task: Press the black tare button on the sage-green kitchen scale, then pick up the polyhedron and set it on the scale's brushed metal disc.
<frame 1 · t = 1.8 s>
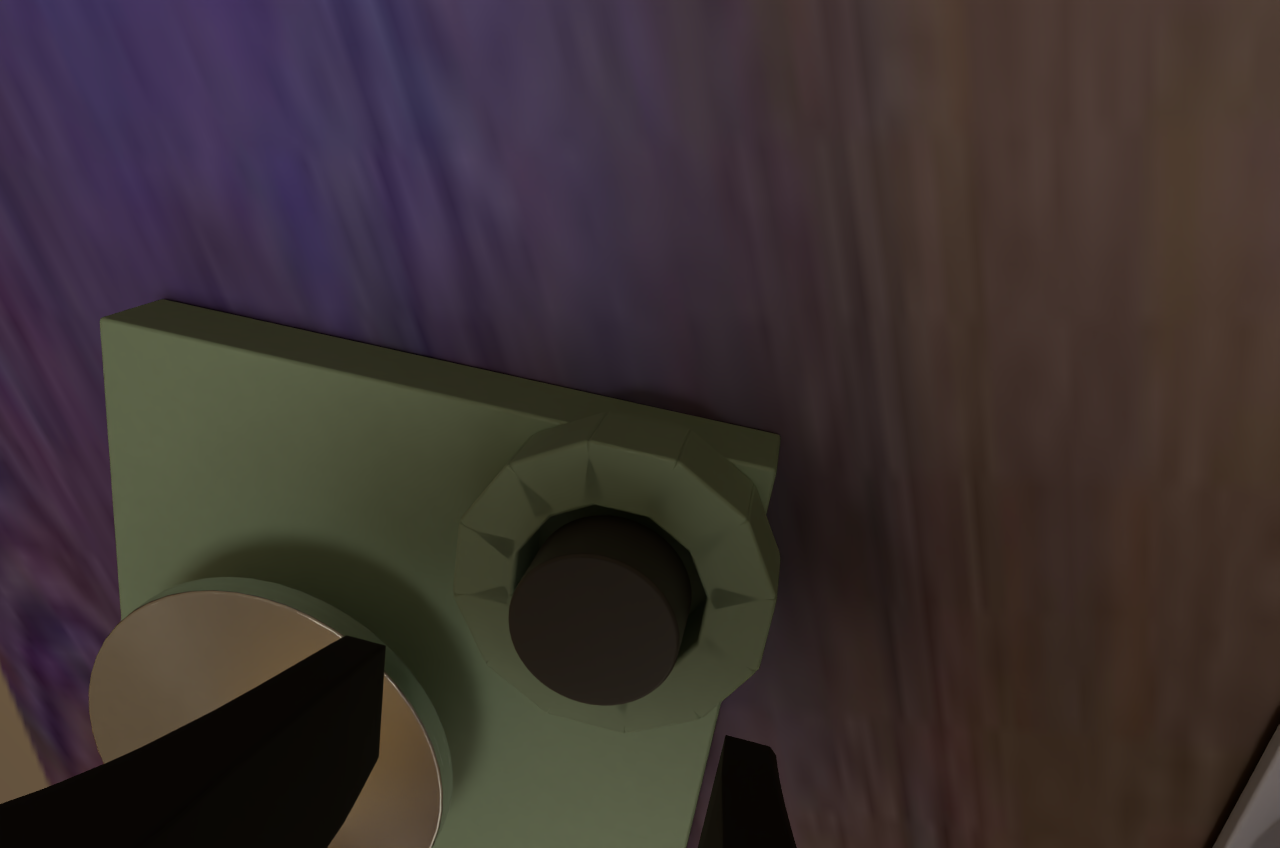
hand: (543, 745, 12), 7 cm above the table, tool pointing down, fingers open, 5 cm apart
brushed metal disc: (276, 741, 19), resting on scale
scale: (437, 598, 21), on the table
tare button: (602, 609, 16), point 4 cm above the table, slide at 0.1 cm
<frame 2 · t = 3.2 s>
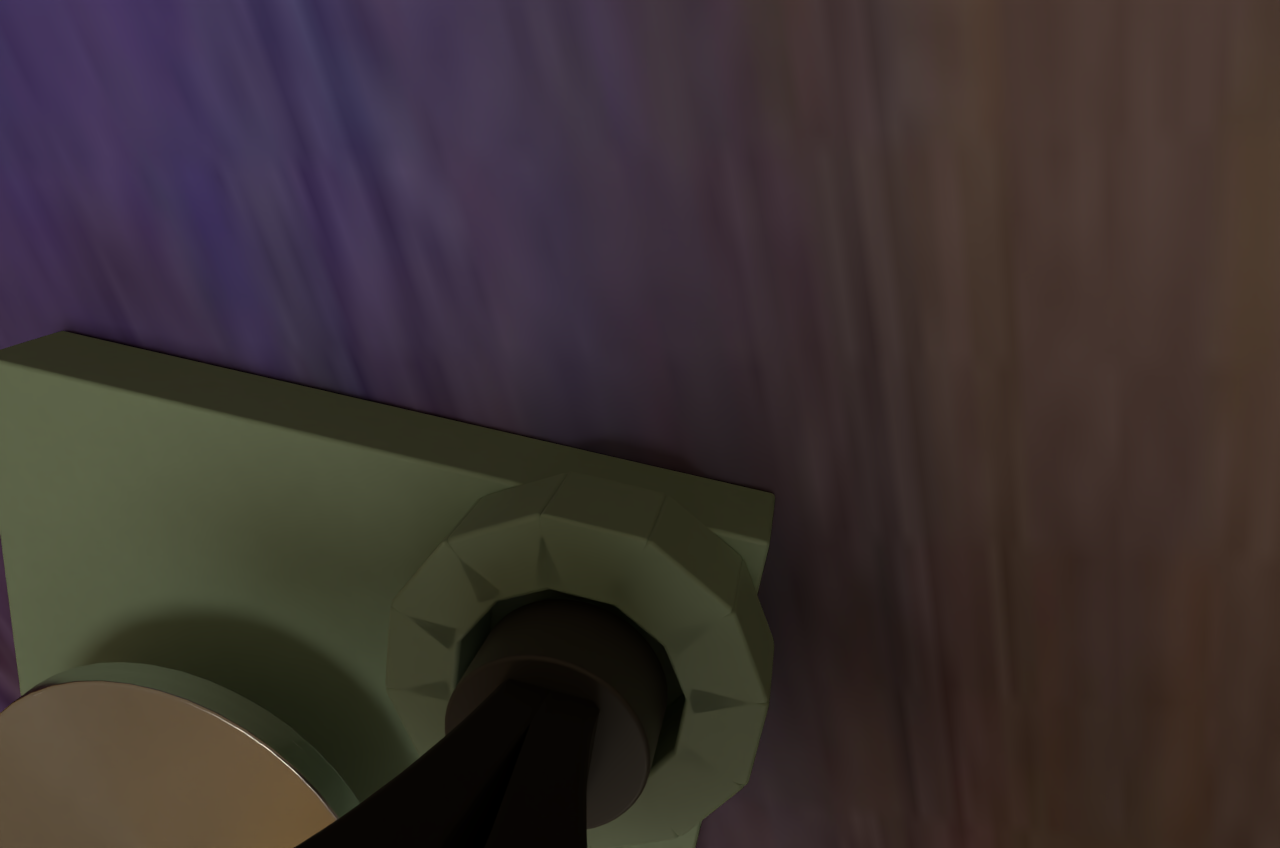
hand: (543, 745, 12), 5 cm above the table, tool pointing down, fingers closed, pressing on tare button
brushed metal disc: (189, 846, 16), resting on scale
scale: (384, 671, 18), on the table
tare button: (559, 713, 13), point 4 cm above the table, slide at 0.1 cm, touching gripper
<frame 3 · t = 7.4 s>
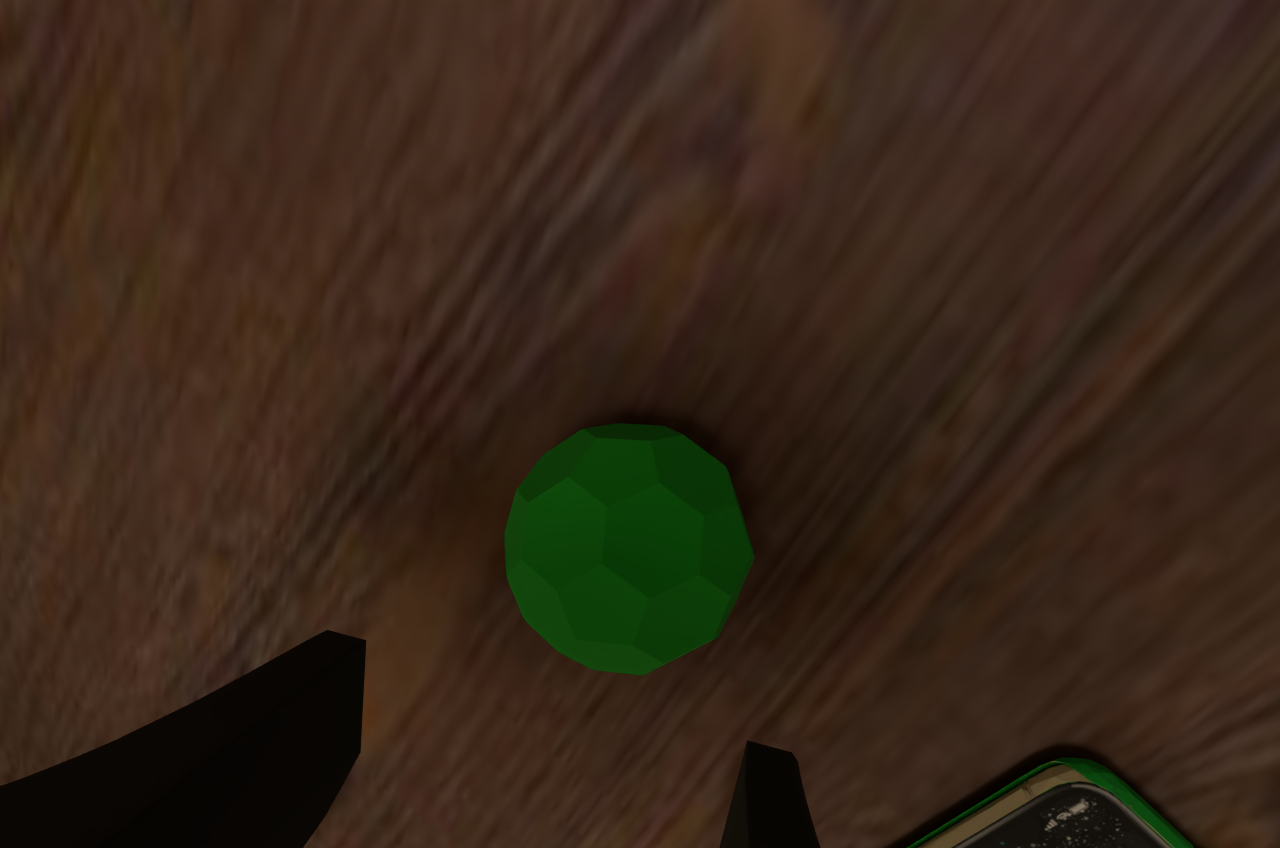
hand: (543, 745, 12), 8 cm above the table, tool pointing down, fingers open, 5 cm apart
polyhedron: (652, 492, 20), on the table
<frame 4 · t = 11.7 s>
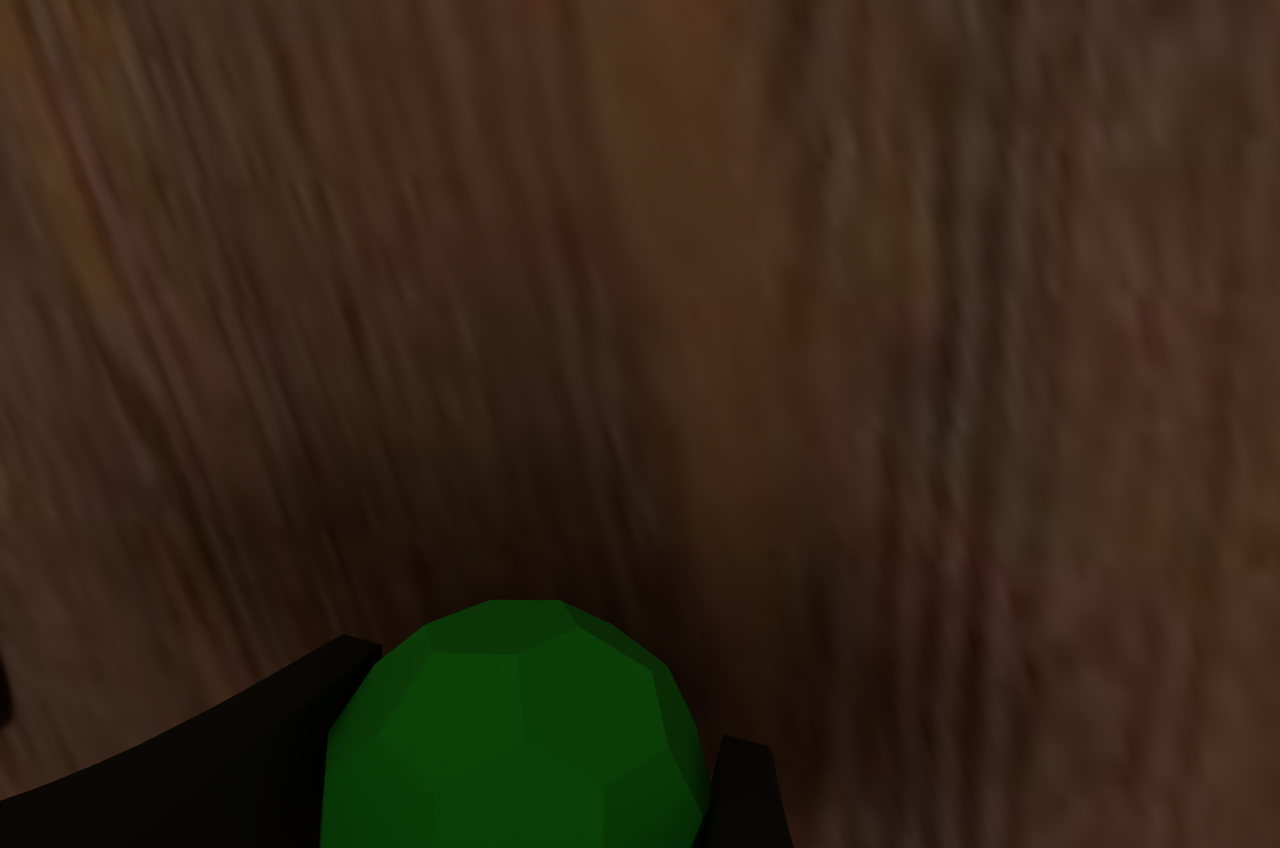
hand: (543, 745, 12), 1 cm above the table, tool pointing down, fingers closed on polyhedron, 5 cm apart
polyhedron: (570, 676, 14), on the table, touching gripper
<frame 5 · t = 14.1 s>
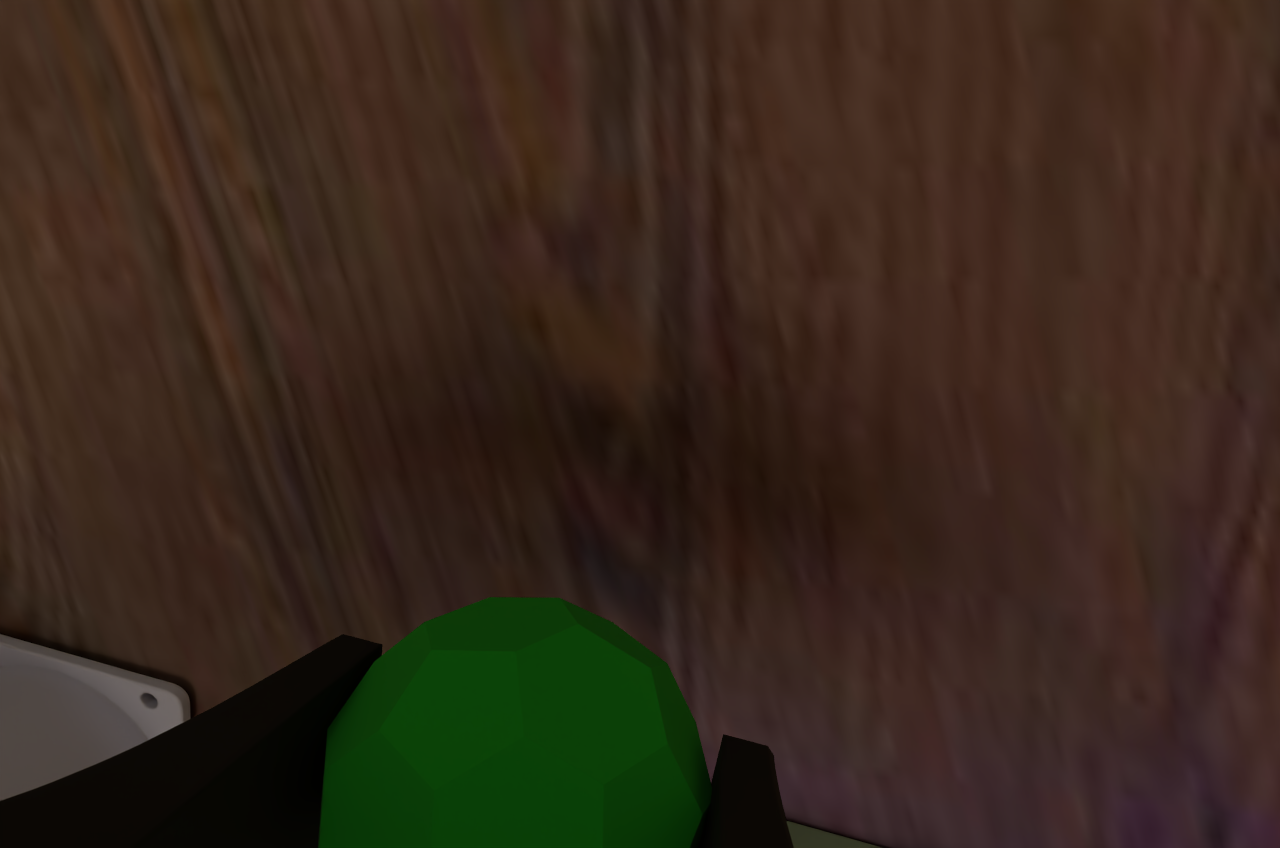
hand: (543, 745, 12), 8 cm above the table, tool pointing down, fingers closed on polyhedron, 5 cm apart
polyhedron: (570, 674, 14), point 7 cm above the table, touching gripper
when the fingers open (5 cm above the table, at t = 16.7 s): polyhedron stays where it is, resting on brushed metal disc.
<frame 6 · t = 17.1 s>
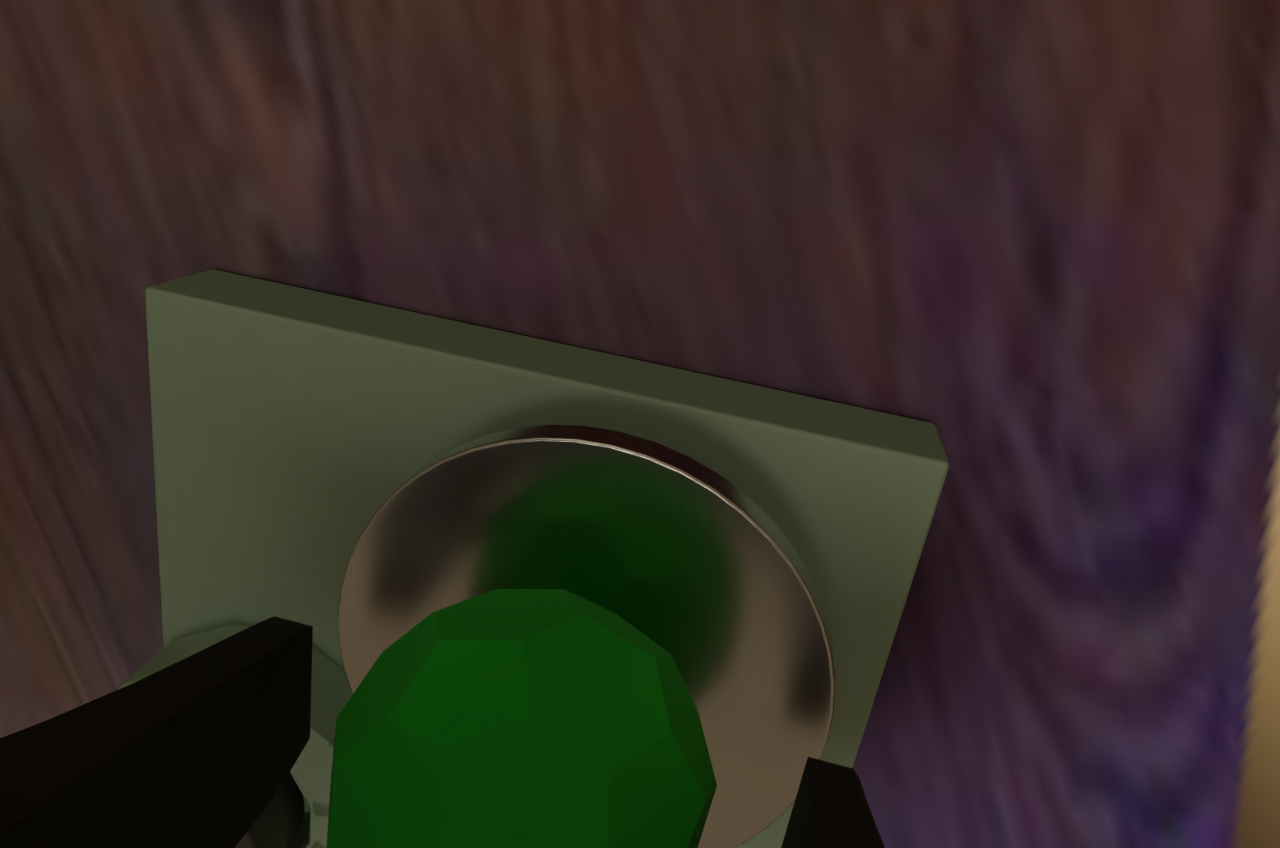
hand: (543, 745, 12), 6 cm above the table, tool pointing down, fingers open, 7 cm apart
brushed metal disc: (583, 654, 14), resting on scale
polyhedron: (574, 665, 14), point 4 cm above the table, touching brushed metal disc
scale: (520, 611, 19), on the table
tare button: (211, 818, 17), point 4 cm above the table, slide at 0.1 cm
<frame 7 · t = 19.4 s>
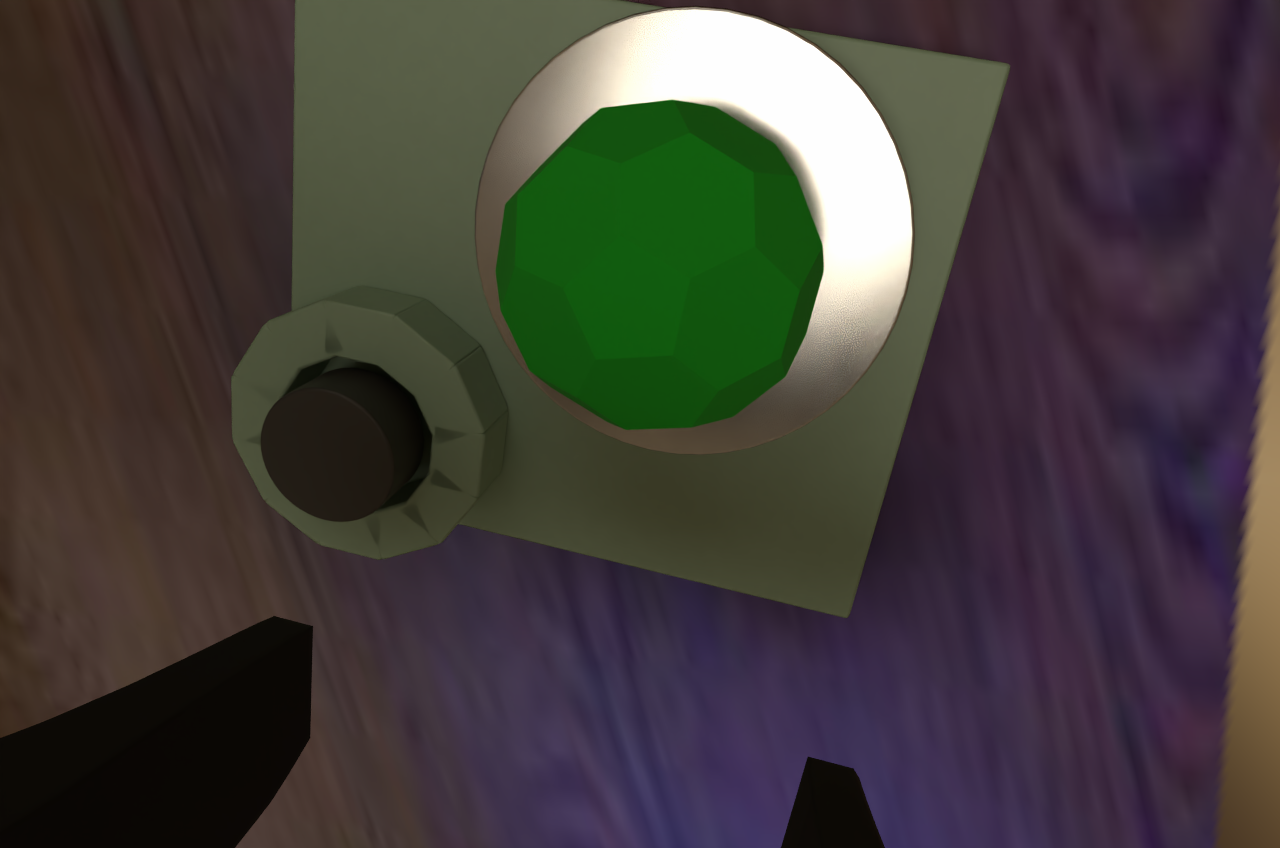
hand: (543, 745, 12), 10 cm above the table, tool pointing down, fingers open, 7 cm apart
brushed metal disc: (688, 244, 16), resting on scale
polyhedron: (683, 245, 16), point 4 cm above the table, touching brushed metal disc
scale: (611, 290, 21), on the table
tare button: (344, 444, 19), point 4 cm above the table, slide at 0.1 cm
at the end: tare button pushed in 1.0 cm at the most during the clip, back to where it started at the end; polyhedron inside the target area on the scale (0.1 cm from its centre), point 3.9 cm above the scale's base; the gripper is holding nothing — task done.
